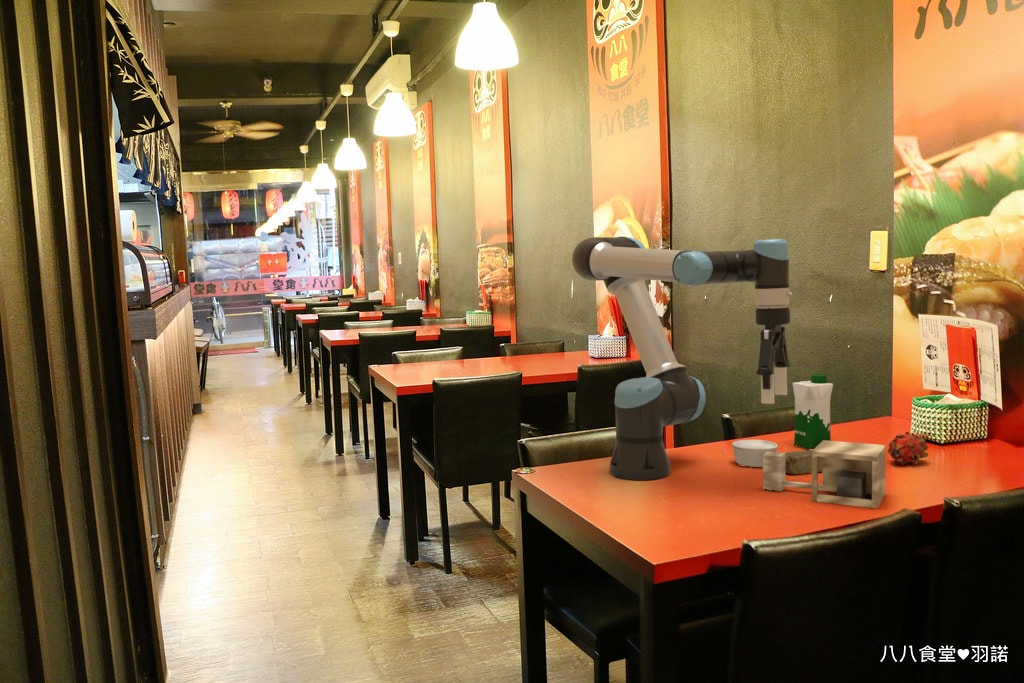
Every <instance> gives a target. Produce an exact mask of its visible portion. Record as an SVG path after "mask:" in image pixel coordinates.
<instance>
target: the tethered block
mask: <svg viewBox="0 0 1024 683" xmlns="http://www.w3.org/2000/svg"><path fill="white" fill-rule="evenodd" d="M785 453H786V452H779V451H776V452H769V451H768V452H766V453H765V454H764V455H763V468H762V482H763V483H762V486H763V487H762V490H764V489H767V490H766V491H772V490H775V491H774V492H782V491H783V490H784V489H785V488H786V487H789V488H795V489H797V488H798V489H806V490H807V489H808V490H812V482H800V481H789V480H786V473H785ZM818 491H825V492H834V493H836V496H842V497H851V498H860V499H865V498H866V496H867V493H866V473H865V472H855V471H845V470H842V471H841V472H840V473H839V474H838V476H837V486H829V485H822V484H819V483H818Z"/></svg>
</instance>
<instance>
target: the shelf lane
mask: <svg viewBox="0 0 1024 683" xmlns="http://www.w3.org/2000/svg"><path fill="white" fill-rule="evenodd" d="M886 447H887V446H886V444H874V443H864V442H849V441H836V440H831V441H827V440H823V441H822V442H821V443H820V444H819V445H818V446H817V447H816V448H815V449H814V450H813V451H812V473H811V484H812V489H811V502H815V501H817V502H818V503H826V504H832V503H833V504H834V505H842V506H850V507H859V508H865V509H866V508H867V509H868V508H869V509H876V510H877V509H878V508H879V506H880V505H879V504H881V503H882V502H883V499H884V497H885V496H886V466H887V465H886V454H887V453H886V452H887V450H886V449H887V448H886ZM818 456H820V457H823V471H822V472H821V473H822V476H821V477H822V480H821V482H822V484H821V485H829V486H837V476H838V474H839V473H840V472H841V471H842V470H845V471H855V472H865V473H866V494H867V493H871V494H870V495H871V499H867V498H864V499H860V498H851V497H842V496H837V495H833V494H831V495H830V494H825V493H819V492H818V491H819V490H818V484H819V482H818V480H819V478H818V477H819V472H818ZM884 495H885V496H884ZM817 502H816V503H817Z"/></svg>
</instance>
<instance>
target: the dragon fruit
mask: <svg viewBox="0 0 1024 683" xmlns="http://www.w3.org/2000/svg"><path fill="white" fill-rule="evenodd" d="M928 449H929V446H928V444H927V442H926V440H925V438H923V437H922V436H921V434H919V433H914V435H913V434H912V433H910V432H909V431H905V433H904V434H900V433H899V434H897V435H896V436H895V437H893V439H892V440H891V441H890V442H889V444H888V449H887V453H888V454H889V455H890V457H891V459H893V460H894V461H895V462H894V464H895V465H902V466H903V465H905V464H907V463H911V465H912V466H916V465H918V464H919V463H920V459H924V458H927V457H928V456H929V453H928V452H926V451H927V450H928Z"/></svg>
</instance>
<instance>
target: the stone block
mask: <svg viewBox="0 0 1024 683" xmlns="http://www.w3.org/2000/svg"><path fill="white" fill-rule="evenodd" d="M812 451H813V450H807V449H804V450H796V451H787V452H784V453H785V474H791V475H803V474H802V473H807V474H812ZM822 471H823V457H820V456H818V473H822ZM787 472H788V473H787Z"/></svg>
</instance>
